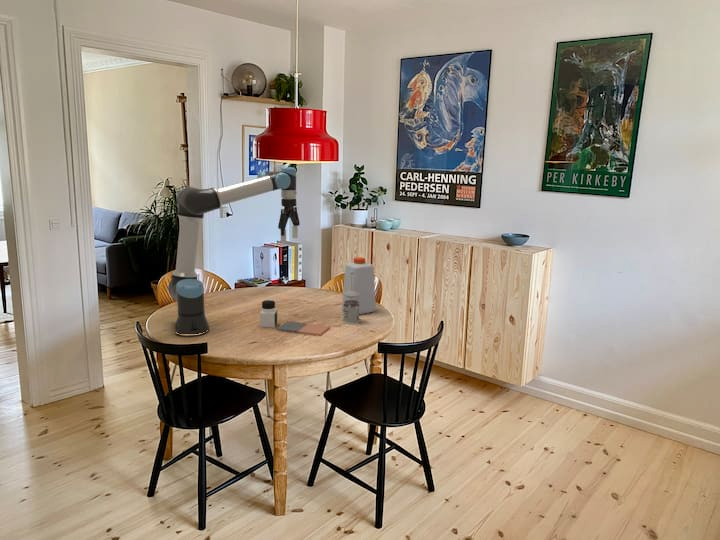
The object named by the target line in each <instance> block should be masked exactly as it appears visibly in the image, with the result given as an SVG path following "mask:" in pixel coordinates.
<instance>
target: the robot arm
mask: <svg viewBox="0 0 720 540" xmlns="http://www.w3.org/2000/svg"><path fill="white" fill-rule="evenodd" d="M277 190H280V191H281V192H280V193H281V194H280V195H281V197H280V198H281V203H280V204H281V207H283V208H281V209H280V215H279V222H278V226H277V227H278V229H279V230H280V243H286V242H287V229H286V227H287V224H288V221H289V219H290V221H291V222H292V225H291V229H292V239H299V236H298V235H299V233H298V232H299V231H298V229H299V228H298V227H299V226H300V223H301V221H300V218H299V214H298V208H297V199H296V198H297V194H298V193H297V170H296V168H295V167H289V166H288V167H284V166H282V167H281V168H280V170H279V171H266V170H265V171H259V172H258V173H257V177H256V178H253V179H249V180H245V181H241V182H238V183H235V184H231V185H227V186H226V185H225V186H223V187H219V188H216V187H210V188H206V189H205V188H204V189H203V188H202V189H201V188H197V187H193V186H192V187H190V186H189V187H184V188H182V189H181V190H180V191H179V192H178V194H177V195H176V204H177V215H176V216H177V217H178V219H180V221H179V231H178V242H177V252H176V253H177V254H176V264H175V270H173V272H172V273H171V279H170V281H169V283H168V290H167V291H168V293H169V296H170V297H171V298H172V299H173V300H174V301H175V302H177V304H176V305H177V318H176V319H177V320H176V323H175V326H174V333H175V332H177V333H179V334H199V333H203V332H206V331H207V330H209V331H210V324H209V322H208V319H207V317H206V313H205V293H204V292H205V287H204V283H203V282H202V281H201V280H200V279H198V274H197V273H196V271H195V270H196V261H197V252H198V251H197V250H198V240H199V233H200V222H201V221H202V220H203V219H204V218H205V217H204V214H207V213H209V212H212V211H215V210H219V209H221V207H223V206H224V205H228V204H231V203H235V202H238V201H242V200H246V199H249V198H252V197H256V196H259V195H262V194H265V193H266V194H267V193H270V192H274V191H277Z"/></svg>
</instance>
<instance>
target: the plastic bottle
mask: <svg viewBox="0 0 720 540" xmlns="http://www.w3.org/2000/svg"><path fill="white" fill-rule="evenodd" d="M374 269H375V267H374V265H373V264H371V263H370V262H366V258H365V257H362V256H361V257H360V256H358V257H354V258H353V261H352V262H347V263H345V265H344V277H343V289H342V291H343V292H342V301H341V302H342V303H341V309H342V310H343V308H344V307H343V305H344V304H345V303H344V302H345V301H346V298H347V300H351V298H348V297H347V296H344V295H343V294H344V293H345V292H347V291H351V276H352V291H356V292H358V293H359V294H360V295H359V296H357V297H352V300H354V301H355V300H356V301H358V302H359V303H358V304H359V314H360V315H365V313H366V314H371V313H374V312H375V311H376V306H377V305H376V289H375V271H374ZM351 271H352V272H354V274H350V272H351ZM349 307H350V305H349ZM355 307H358V306H355ZM343 311H345V310H343ZM357 312H358V311H357ZM370 312H371V313H370ZM357 315H358V314H357Z"/></svg>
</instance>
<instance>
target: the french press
mask: <svg viewBox="0 0 720 540" xmlns="http://www.w3.org/2000/svg"><path fill="white" fill-rule="evenodd" d="M350 274H354V272H352V271H351V272H350ZM343 295H344V296H347V297H348V298H351V300H347V298H346V301H345V302H344V303H345V304H344V305H343V307H344V308H343V309H342V310H343V313H342V314H343V319H342V321H341V323H343V324H345V323H346V324H345V325H356V324H355V323H358V324H360V323H362V320H361V319H360V315H359V304H358V303H359V302H358V301H356V300H355V301H354V300H352V297H357V296H359V295H360V294H359V293H358V292H356V291H352V276H351V291H347V292H345V293H344V294H343V293H342V296H343ZM349 305H350V307H349ZM355 306H358V307H355ZM344 310H345V311H344ZM357 311H358V312H357ZM357 314H358V315H357ZM359 322H360V323H359Z"/></svg>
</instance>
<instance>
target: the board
mask: <svg viewBox="0 0 720 540" xmlns="http://www.w3.org/2000/svg"><path fill="white" fill-rule="evenodd" d="M275 329H276V330H279V331H278V332H284V331H286V333H292V332H294V333H295V334H300V333H301V334H302V335H308V334H310V335H309V336H316V335H318V336H317V337H321V336H322V335H324V334H325V333H326V332H327V331H328V330H330V329H331V326H330V325H322V324H314V323H307V322H306V323H305V322H298V321H289V320H288V321H285V322H284V323H283V324H281V325H279V326H278V327H275Z"/></svg>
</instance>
